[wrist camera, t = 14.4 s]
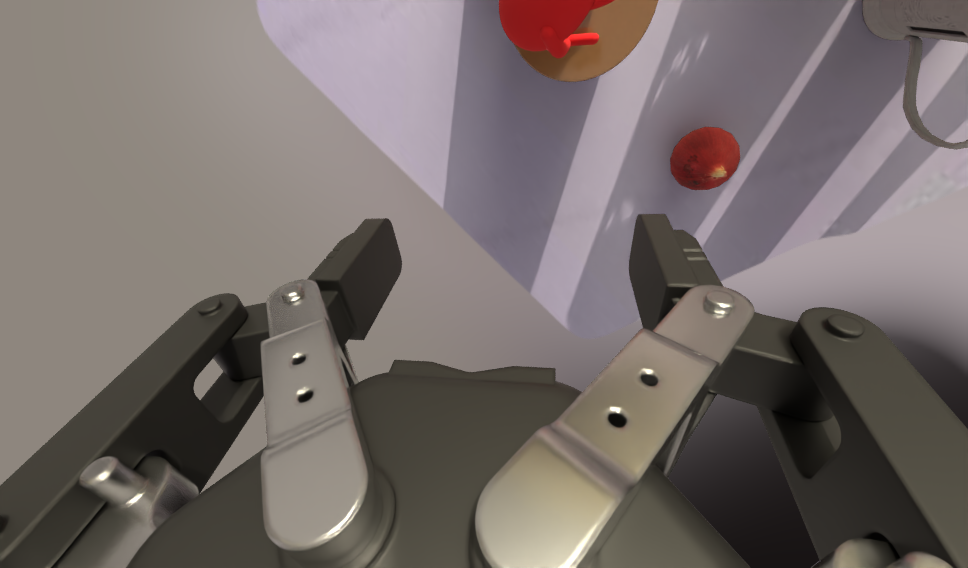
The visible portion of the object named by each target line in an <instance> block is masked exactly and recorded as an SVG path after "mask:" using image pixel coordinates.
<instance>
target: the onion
mask: <svg viewBox="0 0 968 568" xmlns="http://www.w3.org/2000/svg"><path fill="white" fill-rule="evenodd" d="M739 161H740V148H739V145H738V143H737V141H736V140H735V138H734V137H733V135H732V134H730V133H729V132H727V131H725V130H723V129H721V128H715V127H703V128H700V129H697V130H694V131H692V132H690V133H689V134H687V135H686V136H685V137H683V138H682V139H681V140H680V141H679V143H678V144H677V145H676V146H675V148H674V150H673V153H672V155H671V158H670V165H671V173H672V175H673V176H674V178H675V179H676V180H677V182H678V183H679V184H680V185H682V186H684V187H687V188H689V189H692V190H709V189H712V188H715V187H718V186H720V185H721V184H723V183H724V182H725V181H727V180H728V179H729V178H730V177H731V176H732V175H733V174H734V172H735V171H736V169H737V166H738V163H739Z"/></svg>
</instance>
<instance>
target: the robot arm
mask: <svg viewBox="0 0 968 568" xmlns="http://www.w3.org/2000/svg"><path fill="white" fill-rule="evenodd" d="M401 268H402V260H401V255H400V251H399V248H398V244H397V241H396V237H395V233H394V230H393V226H392V223H391V222H390V220H389V219H387V218H385V219H365V220H364V221H363V222H362V224H361V225H360V226H359V227H358V228H357V230H356V231H355V232H354V233H352V234H350V235H349V236H347V237H346V238H344V239H343V240H341V241H340V242H339V243H338V244H337V245H336V246H335V248H334V249H333V251H332V252H330V253H329V254H328V256H327V257H326V259H324V260H323V261H322V263H321V264H320V265H319V266H318V267H317V268H316V269H315V271H314V272H313V273H312V274H311V275H310V276H309V278H308V279H307V280H297V281H293V282H289V283H287V284H285V285H283V286H281V287H279V288H277V289H276V290H275V291H273V292H272V293H271V294H270V295H269V297H268V299H267V301H266V303H261V304H256V305H251V306H246V307H244V306H243V305H242V303H241V301H240V299H239V298H238V297H237V296H236V295H234V294H229V293H228V294H219V295H215V296H212V297H209V298H207V299H205V300H203V301H201V302H199V303H197V304H196V305H194V306H193V307H192V308H190V309H189V310H188V311H187V312H186V313H185V314H184V315H183V316H182V317H181V318H180V319H179V320H178V321H176V322H175V323H174V324H173V325H172V326H171V327H170V328H169V329H168V330H167V331H166V332H165V333H164V334H162V335H161V336H160V337H159V338H158V339H157V340H156V341H155V342H154V343H153V344H152V345H151V346H150V347H148V348H147V349H146V350H145V351H144V352H143V353H142V354H141V355H140V356H139V357H138V358H137V359H136V360H135V361H133V362H132V363H131V364H130V365H129V366H128V367H127V368H126V369H125V370H124V371H123V372H122V373H121V374H120V375H118V376H117V377H116V378H115V379H114V380H113V381H112V382H111V383H110V384H109V385H108V386H107V387H106V388H105V389H103V390H102V391H101V392H100V393H99V394H98V395H97V396H96V397H95V398H94V399H93V400H92V401H91V402H90V403H89V404H88V405H86V406H85V407H84V408H83V409H82V410H81V411H80V412H79V413H78V414H77V415H76V416H75V417H73V418H72V419H71V420H70V421H69V422H68V423H67V424H66V425H65V426H64V427H63V428H62V429H61V430H60V431H58V432H57V433H56V434H55V435H54V436H53V437H52V438H51V439H50V440H49V441H48V442H47V443H46V444H45V445H43V446H42V447H41V448H40V449H39V450H38V451H37V452H36V453H35V454H34V455H33V456H32V457H31V458H30V459H28V460H27V461H26V462H25V463H24V464H23V465H22V466H21V467H20V468H19V469H18V470H17V471H16V472H15V473H14V474H13V475H12V476H10V477H9V478H8V479H7V480H6V481H5V482H4V483H3V484H2V485H1V486H0V568H750V567H749V565H748V564H747V563H746V562H745V561H744V560H743V559H742V558H741V557H740V556H739V555H738V554H737V553H736V552H735V550H734V549H733V548H732V547H731V546H730V545H729V544H728V543H727V542H726V541H725V540H724V538H722V536H721V535H720V534H719V533H718V532H717V531H716V530H715V529H714V528H713V527H712V526H711V525H710V523H709V522H708V521H707V520H706V519H705V518H704V517H703V516H702V515H701V514H700V513H699V512H698V510H697V509H696V508H695V507H694V506H693V505H692V504H691V503H690V502H689V501H688V500H687V499H686V497H685V496H684V495H683V494H682V493H681V492H680V491H679V490H678V489H677V488H676V487H675V486H674V484H673V483H672V482H671V481H670V480H669V479H668V477H669V475H670V473H671V472H672V470H673V468H674V466H675V464H676V463H677V461H678V459H679V457H680V455H681V453H682V451H683V449H684V448H685V446H686V444H687V442H688V441H689V439H690V437H691V436H692V434H693V432H694V431H695V429H696V427H697V426H698V424H699V423H700V421H701V420H702V418H703V417H704V415H705V413H706V412H707V410H708V409H709V407H710V405H711V404H712V402H713V400H714V399H715V397H716V396H717V394H720V395H724V396H726V397H730V398H733V399H736V400H739V401H743V402H746V403H749V404H753V405H756V406H757V408H758V410H759V413H760V415H761V418H762V420H763V423H764V425H765V427H766V430H767V432H768V435H769V437H770V440H771V442H772V444H773V447H774V449H775V452H776V454H777V457H778V459H779V461H780V464H781V466H782V469H783V471H784V474H785V476H786V478H787V481H788V484H789V486H790V488H791V491H792V493H793V496H794V498H795V501H796V503H797V505H798V508H799V510H800V513H801V515H802V517H803V520H804V522H805V525H806V527H807V530H808V532H809V535H810V537H811V540H812V542H813V544H814V547H815V549H816V552H817V554H818V557H819V559H820V561H819V562H818V563H817V564H815V565H814V566H813V567H812V568H968V429H967V428H966V427H965V426H964V425H963V423H962V422H961V421H960V420H959V419H958V418H957V417H956V415H955V414H954V413H953V412H952V411H951V410H950V408H949V407H947V405H946V404H945V403H944V402H943V400H942V399H941V398H940V397H939V396H938V395H937V393H936V392H935V391H934V390H933V389H932V388H931V387H930V385H929V384H928V383H927V382H926V381H925V380H924V378H923V377H922V376H921V375H920V374H919V373H918V371H917V370H916V369H915V368H914V367H913V366H912V365H911V364H910V362H909V361H908V360H907V359H906V358H905V357H904V355H903V354H902V353H901V352H900V351H899V350H898V348H897V347H896V346H895V345H894V344H893V343H892V341H891V340H890V339H889V338H888V337H887V336H886V335H885V333H884V332H883V331H882V330H881V329H880V328H878V327H877V326H876V325H875V324H873V323H871V322H870V321H868V320H866V319H864V318H863V317H860V316H858V315H856V314H853V313H850V312H847V311H844V310H839V309H834V308H826V307H819V308H812V309H808V310H806V311H805V312H803V313H802V315H801V317H800V318H799V320H798V322H793V321H789V320H785V319H780V318H775V317H771V316H766V315H762V314H759V313H756V312H754V307H753V305H752V303H751V302H750V301H749V300H748V299H747V298H746V297H745V296H743V295H742V294H740V293H738V292H736V291H734V290H732V289H729V288H726V287H723V285H722V283H721V282H720V280H719V278H718V276H717V275H716V273H715V271H714V269H713V268H712V266H711V264H710V262H709V261H708V260H707V257H706V255H705V254H704V252H702V248H701V247H700V245H699V243H698V241H697V240H696V239H695V238H694V237H693V236H691V235H690V234H688V233H687V232H685V231H684V230H673V228H672V226H671V224H670V222H669V220H668V218H667V216H666V215H665V214H639V215H638V216H637V219H636V223H635V229H634V235H633V241H632V247H631V253H630V260H629V275H630V280H631V283H632V287H633V291H634V295H635V299H636V302H637V306H638V310H639V314H640V318H641V321H642V325H643V328H642V329H641V330H639V331H638V333H637V334H636V335H635V336H634V337H633V338H632V339H631V340H630V341H629V342H628V343H627V344H626V345H625V346H624V348H623V349H622V350H621V351H620V352H619V353H618V354H617V355H616V356H615V358H613V359H612V361H611V362H610V363H609V364H608V365H607V366H606V367H605V368H604V369H603V370H602V371H601V372H600V373H599V375H598V376H597V377H596V378H595V379H594V380H593V381H592V382H591V384H589V385H588V386H587V388H586V389H585V390H584V391H583V392H581V391H579V390H577V389H575V388H573V387H571V386H568V385H565V384H563V383H559V382H556V381H555V368H537V367H520V366H512V367H505V368H499V369H492V370H485V371H479V372H465V371H462V370H458V369H455V368H451V367H448V366H444V365H441V364H437V363H434V362H426V361H406V360H394V362H393V364H392V367H391V369H390V371H389V372H388V373H383V374H379V375H375V376H373V377H370V378H367V379H365V380H363V381H361V382H359V381H358V378H357V376H356V373H355V370H354V367H353V364H352V361H351V358H350V355H349V352H348V350H347V348H346V345H345V344H346V342H347V341H348V339H352V340H364V339H365V337H366V335H367V333H368V331H369V330H370V328H371V326H372V324H373V322H374V321H375V319H376V317H377V315H378V313H379V311H380V309H381V308H382V306H383V304H384V302H385V301H386V299H387V297H388V295H389V293H390V291H391V290H392V288H393V286H394V284H395V282H396V281H397V279H398V277H399V275H400V273H401ZM212 359H214V360H215V361H216V362H217V364H218V365H219V366H220V367H221V369H222V370H223V371H224V372H223V373H222V374H221V376H220V377H219V378H218V379H217V380H216V382H215V383H214V384H213V385H212V387H211V388H210V389H209V390H208V392H207V393H206V394H205V395H204V397H203V398H202V399H201V400H199V399H198V398H197V397H196V395H195V393H194V390H193V387H194V382H195V379H196V378H197V376H198V375H199V373H200V372H201V371H202V370H203V369H204V368H205V367H206V365H207V364H208V363H209V362H210V361H211V360H212ZM263 396H264V404H265V418H266V431H267V432H266V433H267V447H265V448H264V449H262V450H261V451H260V452H258V453H257V454H255V455H254V456H253V457H251V458H250V459H249V460H247V461H246V462H244V463H243V464H241V465H240V466H239V467H237V468H236V469H234V470H233V471H232V472H230V473H229V474H227V475H226V476H224V477H223V478H222V479H220V480H219V481H217V482H216V483H215V484H213V485H212V486H210V487H209V488H208V489H206V490H205V491H203V492H202V493H201V494H200V492H201V491H202V489H203V488H204V486H205V485H206V483H207V482H208V480H209V479H210V477H211V476H212V474H213V473H214V471H215V470H216V468H217V466H218V465H219V463H220V462H221V460H222V459H223V457H224V456H225V454H226V452H227V451H228V450H229V448H230V447H231V445H232V444H233V442H234V441H235V439H236V437H237V436H238V434H239V432H240V431H241V430H242V428H243V427H244V425H245V424H246V422H247V420H248V419H249V418H250V416H251V415H252V413H253V411H254V410H255V408H256V407H257V405H258V404H259V402H260V401H261V399H262V398H263Z"/></svg>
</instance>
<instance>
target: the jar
mask: <svg viewBox="0 0 968 568" xmlns="http://www.w3.org/2000/svg"><path fill="white" fill-rule="evenodd" d="M657 3H658V0H614V1H613V2H611V3H609V4H607V5H605V6H603V7H600V8H597V9H594V10H590V11H589V13H588V14H587V16H586V17H585V19H584V20H583V22H582V23H581V24H580V26H579V27H578V28H577V29H576V30H575V31H574V32H573V33H572V34H584V33H597V34H598V35H599V40H598V42H597V43H596V44H594V45H580V46H570V49H569V51H568V52H567V54H566V55H565V56H564V57H562V58H555V57H553V56H552V55H551V53H550V52H549V51H547V50H544V51H528V50H524V49H522V48H520V47H518V46H517V45H515V44H514V45H515V47H516V49H517V50H518V52H519V53H520V55H521V56H522V58H523V59H524V60H525V61H526V62H527V64H529V65H530V66H531V67H532V68H533V69H534V70H536V71H537V72H539V73H540V74H542V75H544V76H546V77H548V78H551V79H554V80H557V81H564V82H579V81H585V80H589V79H592V78H595V77H597V76H600V75H602V74H604V73H606V72H607V71H609V70H611V69H612V68H614V67H615V66H616V65H618V64H619V63H620V62H621V61H623V60H624V59H625V58H626V57H627V56H628V55H629V54H630V53H631V51H632V50H633V49H634V48H635V47H636V46H637V44H638V43H639V41H640V40H641V38H642V37H643V35H644V34H645V32H646V30H647V28H648V26H649V24H650V22H651V20H652V17H653V15H654V13H655V9H656V6H657ZM572 34H571V35H572Z"/></svg>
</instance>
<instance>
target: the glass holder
mask: <svg viewBox="0 0 968 568" xmlns="http://www.w3.org/2000/svg"><path fill="white" fill-rule="evenodd" d="M862 12H863V17H864V21H865V23H866V25H867V27H868V28H869V29H870V30H871V31H872V33H873V34H875V35H877V36H879V37H881V38H884V39H888V40H908V41H910V53H909V60H908V66H907V72H906V78H905V87H904V96H903V109H904V112H905V115H906V118H907V120H908V122H909V124H910V126H911V128H912V129H913V130H914V131H915V132H916V133H917V134H918V135H919V136H920V137H921V138H922V139H924V140H926V141H928V142H930V143H932V144H934V145H936V146H940V147H944V148H949V149H962V148H968V140H966V141H964V142H960V143H949V142H945V141H943V140H941V139H939V138H937V137H936V136H934V135H932V134H931V133H930V132H929V131H928V130H927V129H926V128H925V127H924V125H923V123H922V121H921V119H920V117H919V115H918V111H917V107H916V87H917V78H918V73H919V68H920V62H921V55H922V40H921V38H919V37H926V38H934V39H942V40H950V41H958V42H966V43H968V0H863V10H862Z"/></svg>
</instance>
